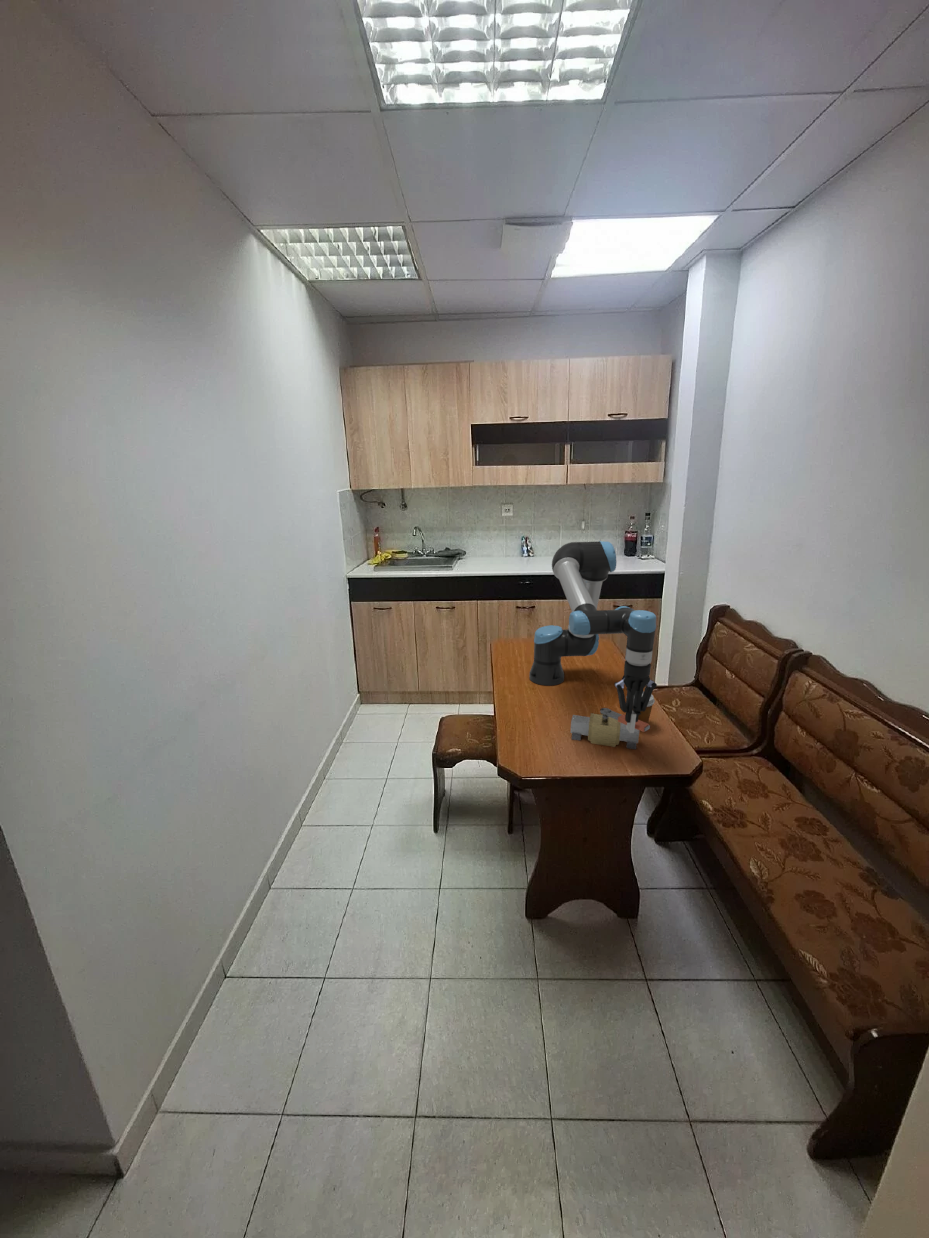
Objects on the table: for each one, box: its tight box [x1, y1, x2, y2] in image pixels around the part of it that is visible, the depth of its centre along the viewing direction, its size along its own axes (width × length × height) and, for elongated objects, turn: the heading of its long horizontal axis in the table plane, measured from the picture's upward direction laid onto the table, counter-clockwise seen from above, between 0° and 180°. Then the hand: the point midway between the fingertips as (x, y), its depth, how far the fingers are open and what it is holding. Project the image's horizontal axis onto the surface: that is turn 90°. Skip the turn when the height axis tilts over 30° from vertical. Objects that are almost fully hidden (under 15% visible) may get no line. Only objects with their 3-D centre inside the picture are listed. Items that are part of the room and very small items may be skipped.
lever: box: [599, 707, 651, 733], centre depth 158 cm, size 17×4×2 cm, turn 42°
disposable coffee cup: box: [625, 690, 656, 724], centre depth 172 cm, size 10×10×12 cm
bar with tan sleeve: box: [570, 712, 640, 750], centre depth 165 cm, size 22×7×10 cm, turn 71°
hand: (630, 730), depth 154 cm, fingers closed
